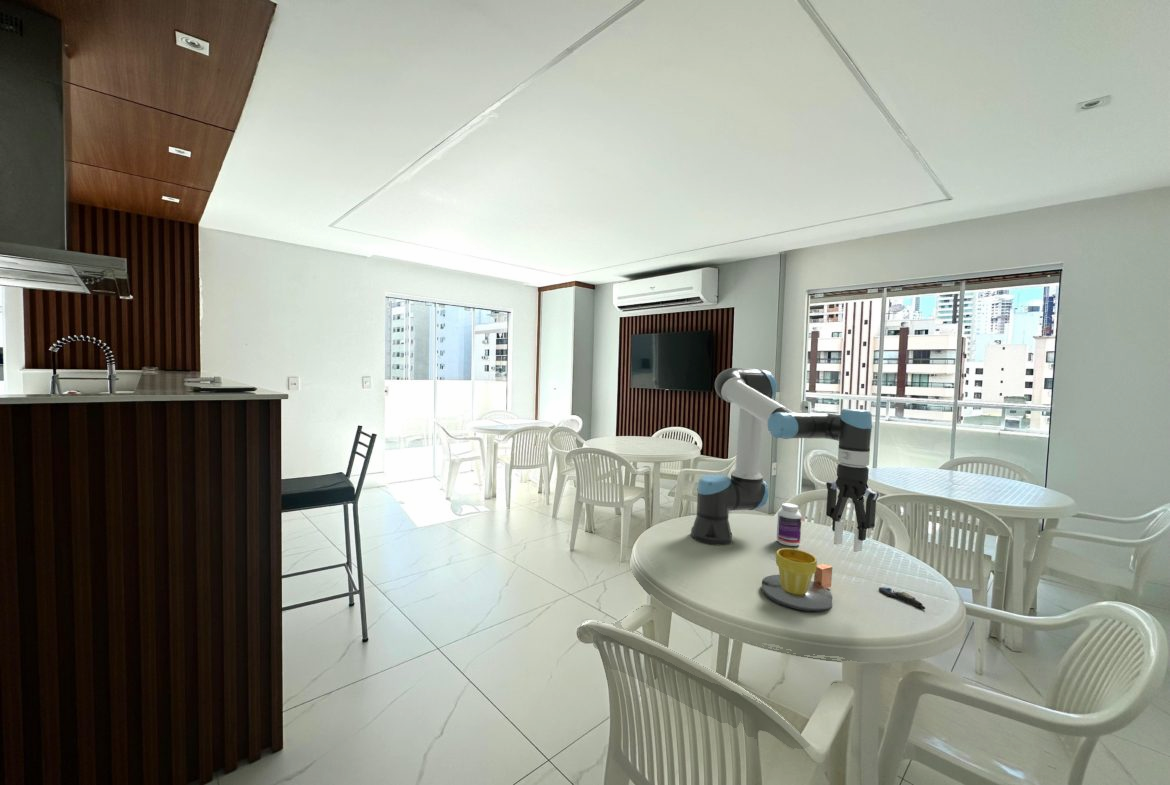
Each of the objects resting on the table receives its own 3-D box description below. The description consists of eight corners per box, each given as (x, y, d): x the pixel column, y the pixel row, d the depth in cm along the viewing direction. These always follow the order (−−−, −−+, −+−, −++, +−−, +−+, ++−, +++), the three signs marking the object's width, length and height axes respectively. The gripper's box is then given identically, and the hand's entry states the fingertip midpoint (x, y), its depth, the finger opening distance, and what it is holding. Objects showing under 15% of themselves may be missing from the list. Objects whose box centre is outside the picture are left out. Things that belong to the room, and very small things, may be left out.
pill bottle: (803, 547, 163) (806, 508, 163) (781, 546, 164) (784, 507, 163) (794, 539, 172) (796, 502, 171) (772, 538, 172) (775, 501, 171)
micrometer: (876, 585, 132) (891, 584, 133) (876, 591, 132) (891, 590, 133) (912, 605, 120) (928, 604, 121) (912, 612, 120) (928, 611, 121)
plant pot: (819, 600, 120) (822, 564, 119) (778, 595, 122) (780, 560, 121) (808, 583, 130) (810, 550, 129) (771, 578, 132) (772, 546, 132)
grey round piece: (747, 586, 130) (748, 565, 130) (800, 572, 141) (801, 553, 140) (803, 617, 114) (804, 594, 114) (857, 599, 125) (859, 578, 124)
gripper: (814, 459, 131) (809, 538, 132) (878, 472, 115) (872, 561, 116) (830, 458, 134) (826, 534, 135) (895, 470, 118) (889, 557, 119)
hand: (847, 547), depth 125 cm, fingers open, 5 cm apart
